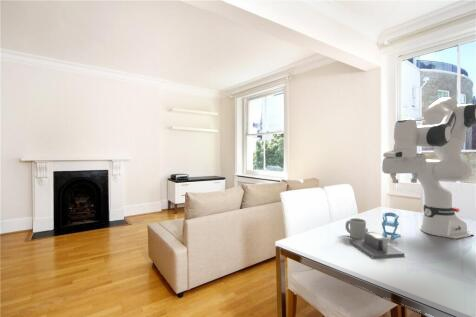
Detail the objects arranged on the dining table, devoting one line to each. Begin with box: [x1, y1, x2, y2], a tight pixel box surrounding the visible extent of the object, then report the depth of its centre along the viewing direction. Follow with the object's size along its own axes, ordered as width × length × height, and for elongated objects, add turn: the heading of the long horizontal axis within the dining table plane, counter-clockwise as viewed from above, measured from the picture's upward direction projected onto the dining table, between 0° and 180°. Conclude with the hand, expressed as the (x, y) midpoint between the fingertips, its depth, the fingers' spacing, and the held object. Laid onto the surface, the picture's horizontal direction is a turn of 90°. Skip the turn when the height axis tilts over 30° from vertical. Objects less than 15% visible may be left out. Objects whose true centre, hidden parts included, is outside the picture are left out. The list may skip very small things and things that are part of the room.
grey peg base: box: [349, 227, 405, 259], centre depth 106 cm, size 14×17×7 cm
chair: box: [381, 212, 401, 240], centre depth 120 cm, size 8×8×12 cm
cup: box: [345, 217, 367, 240], centre depth 120 cm, size 7×10×9 cm
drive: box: [364, 231, 388, 251], centre depth 105 cm, size 4×9×5 cm, turn 6°
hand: (404, 182), depth 109 cm, fingers open, 8 cm apart
